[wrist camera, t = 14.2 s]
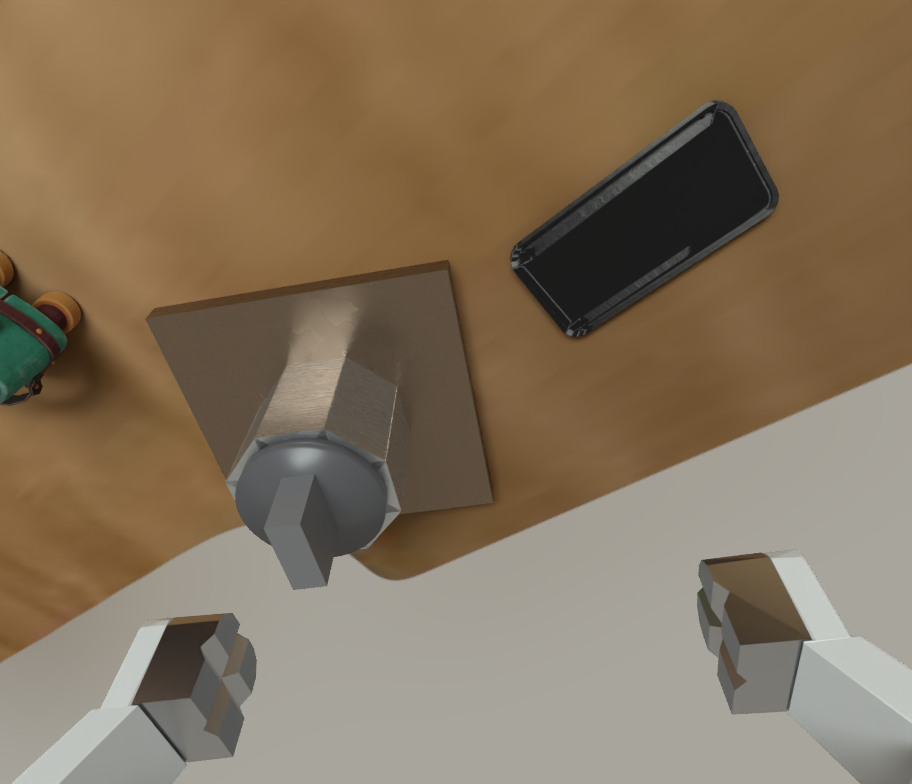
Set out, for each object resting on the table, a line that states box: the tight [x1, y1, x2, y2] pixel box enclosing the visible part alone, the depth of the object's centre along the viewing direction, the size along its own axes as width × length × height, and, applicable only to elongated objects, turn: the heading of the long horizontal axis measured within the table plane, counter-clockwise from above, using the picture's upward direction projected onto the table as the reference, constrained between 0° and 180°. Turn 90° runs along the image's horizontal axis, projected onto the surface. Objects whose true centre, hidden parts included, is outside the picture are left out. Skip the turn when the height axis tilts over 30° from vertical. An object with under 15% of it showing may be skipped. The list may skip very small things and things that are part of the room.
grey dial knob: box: [235, 438, 387, 590], centre depth 38 cm, size 9×9×7 cm
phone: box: [510, 100, 779, 337], centre depth 39 cm, size 8×1×15 cm
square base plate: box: [146, 260, 493, 549], centre depth 43 cm, size 20×20×10 cm
